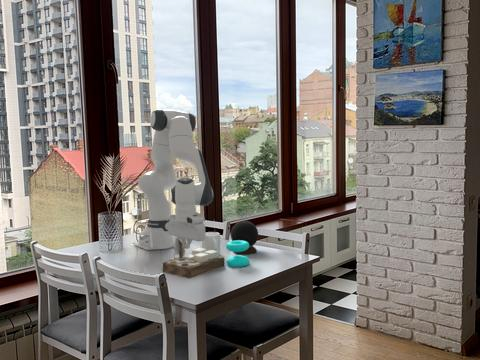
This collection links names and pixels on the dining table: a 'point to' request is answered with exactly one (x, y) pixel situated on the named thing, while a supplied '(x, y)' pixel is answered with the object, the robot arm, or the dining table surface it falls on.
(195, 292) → the dining table surface
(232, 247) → the donuts
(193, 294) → the dining table surface
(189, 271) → the board
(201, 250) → the button
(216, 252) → the button
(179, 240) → the beer glass
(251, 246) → the black ball on stand
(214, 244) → the mug
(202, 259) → the button
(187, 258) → the button
